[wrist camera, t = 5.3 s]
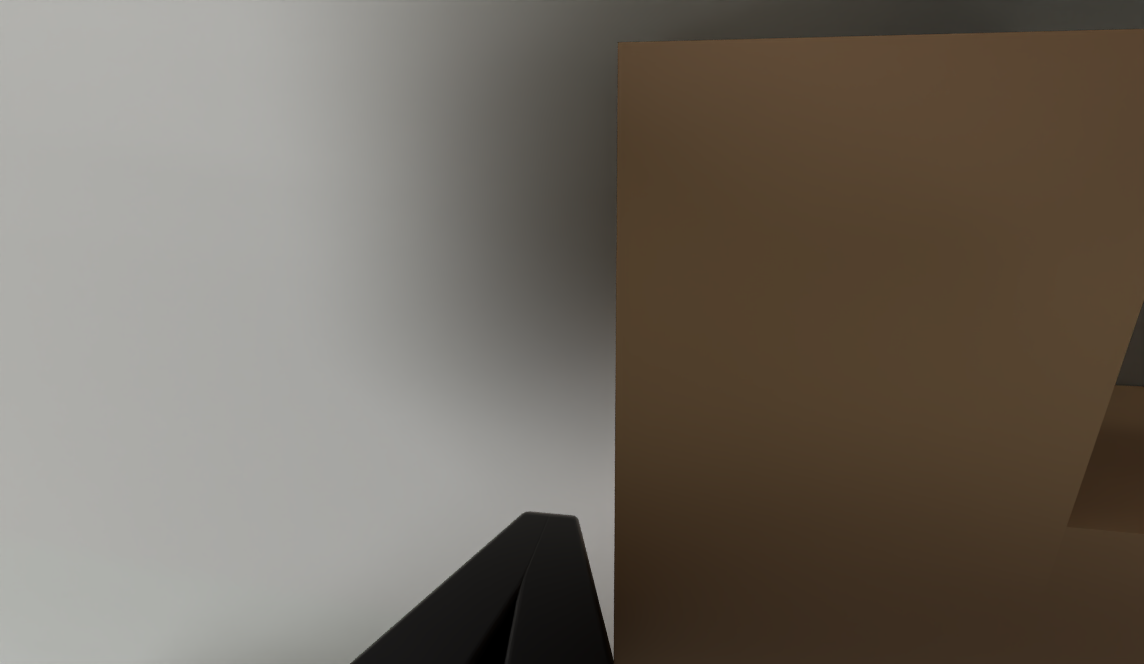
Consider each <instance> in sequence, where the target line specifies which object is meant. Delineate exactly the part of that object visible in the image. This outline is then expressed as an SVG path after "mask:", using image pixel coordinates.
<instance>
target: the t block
mask: <svg viewBox="0 0 1144 664" xmlns="http://www.w3.org/2000/svg"><path fill="white" fill-rule="evenodd" d="M1143 301H1144V29H1115V30H1077V31H1038V32H999V33H961V34H922V35H883V36H845V37H806V38H767V39H729V40H690V41H651V42H618V102H617V252H616V402H615V552H614V664H1144V387H1142V386H1124V385H1115V383H1116V381H1117V378H1118V375H1119V372H1120V369H1121V366H1122V363H1123V360H1124V357H1125V354H1126V351H1127V348H1128V345H1129V342H1130V340H1131V337H1132V334H1133V331H1134V328H1135V325H1136V322H1137V319H1138V316H1139V313H1140V310H1141V307H1142V304H1143Z"/></svg>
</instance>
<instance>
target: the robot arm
mask: <svg viewBox="0 0 1144 664" xmlns="http://www.w3.org/2000/svg"><path fill="white" fill-rule="evenodd" d="M350 664H614V660H613V656H612V652H611V648H610V644H609V640H608V636H607V632H606V628H605V624H604V620H603V616H602V612H601V608H600V604H599V600H598V596H597V592H596V588H595V584H594V580H593V576H592V572H591V568H590V564H589V560H588V556H587V552H586V548H585V544H584V540H583V536H582V532H581V528H580V524H579V520H578V518H577V517H576V516H573V515H562V514H551V513H541V512H525V513H523V514H521V515H520V516H519V517H518V518H517V519H516V520H514V521H513V522H512V523H511V524H510V525H509V526H508V527H506V528H505V529H504V530H503V531H502V532H501V533H500V534H498V535H497V536H496V537H495V538H494V539H493V540H492V541H490V542H489V543H488V544H487V545H486V546H485V547H483V548H482V549H481V550H480V551H479V552H478V553H477V554H475V555H474V556H473V557H472V558H471V559H470V560H469V561H467V562H466V563H465V564H464V565H463V566H462V567H460V568H459V569H458V570H457V571H456V572H455V573H454V574H452V575H451V576H450V577H449V578H448V579H447V580H446V581H444V582H443V583H442V584H441V585H440V586H439V587H438V588H436V589H435V590H434V591H433V592H432V593H431V594H429V595H428V596H427V597H426V598H425V599H424V600H423V601H421V602H420V603H419V604H418V605H417V606H416V607H415V608H413V609H412V610H411V611H410V612H409V613H408V614H406V615H405V616H404V617H403V618H402V619H401V620H400V621H398V622H397V623H396V624H395V625H394V626H393V627H392V628H390V629H389V630H388V631H387V632H386V633H385V634H383V635H382V636H381V637H380V638H379V639H378V640H377V641H375V642H374V643H373V644H372V645H371V646H370V647H369V648H367V649H366V650H365V651H364V652H363V653H362V654H361V655H359V656H358V657H357V658H356V659H355V660H354V661H352V662H351V663H350Z"/></svg>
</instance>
